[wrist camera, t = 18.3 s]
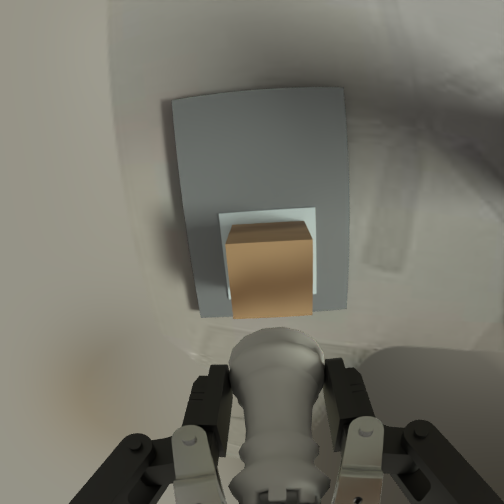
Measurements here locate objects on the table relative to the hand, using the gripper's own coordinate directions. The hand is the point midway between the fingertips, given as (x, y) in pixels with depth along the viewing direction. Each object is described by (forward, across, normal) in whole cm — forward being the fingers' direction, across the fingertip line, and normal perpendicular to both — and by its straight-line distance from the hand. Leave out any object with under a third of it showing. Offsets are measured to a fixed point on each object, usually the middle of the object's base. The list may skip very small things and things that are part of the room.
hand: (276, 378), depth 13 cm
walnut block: (+15, 0, 0) cm, 15 cm away
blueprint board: (+16, 0, -4) cm, 17 cm away
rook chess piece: (+2, 0, 0) cm, 2 cm away
